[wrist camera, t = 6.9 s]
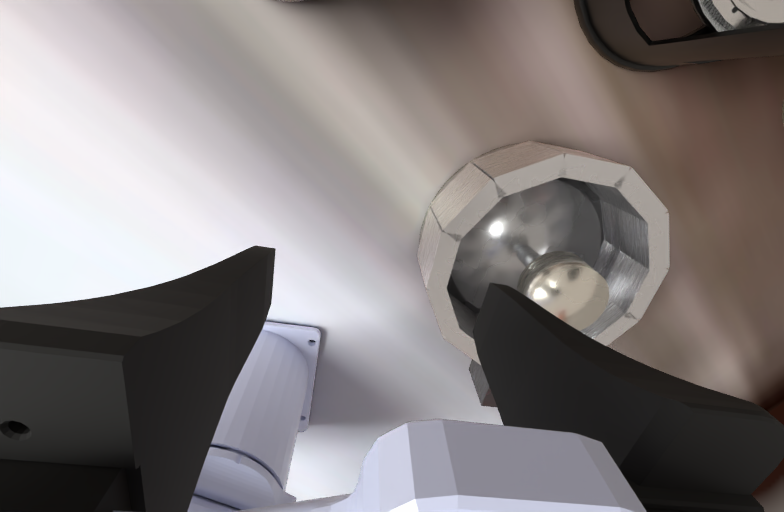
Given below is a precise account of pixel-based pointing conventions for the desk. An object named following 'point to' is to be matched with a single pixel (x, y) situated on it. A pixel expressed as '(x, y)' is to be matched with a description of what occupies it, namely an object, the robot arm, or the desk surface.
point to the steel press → (525, 170)
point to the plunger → (538, 253)
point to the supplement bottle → (290, 0)
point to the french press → (705, 44)
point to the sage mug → (783, 112)
